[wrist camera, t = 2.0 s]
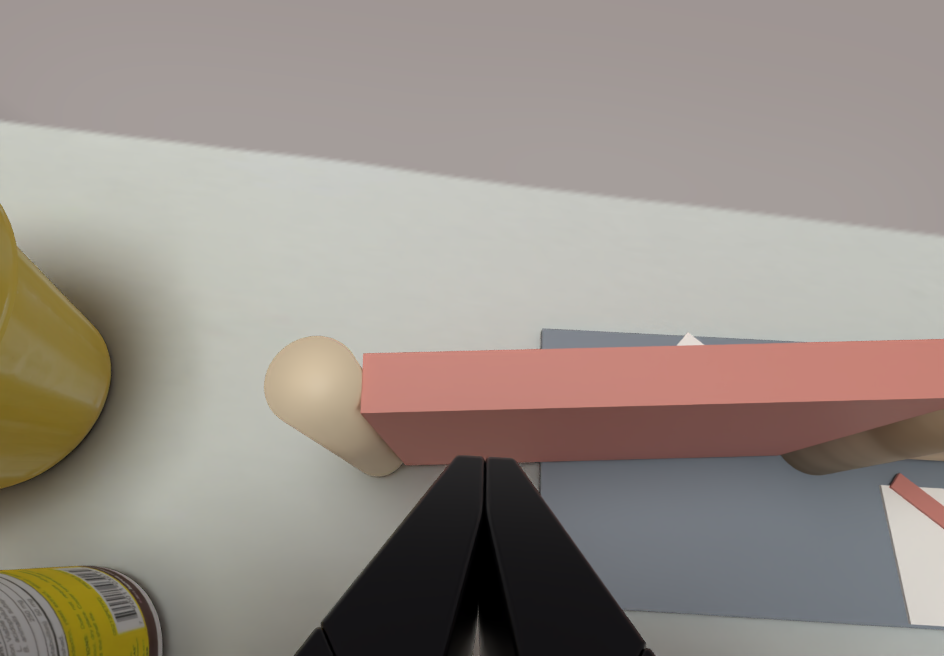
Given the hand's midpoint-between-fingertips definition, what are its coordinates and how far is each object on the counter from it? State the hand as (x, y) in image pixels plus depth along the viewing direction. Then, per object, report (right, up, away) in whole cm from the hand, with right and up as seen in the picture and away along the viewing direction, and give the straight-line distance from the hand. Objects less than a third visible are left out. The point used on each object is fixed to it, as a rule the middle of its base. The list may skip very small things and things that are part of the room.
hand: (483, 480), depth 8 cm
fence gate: (+3, -2, +10) cm, 10 cm away
